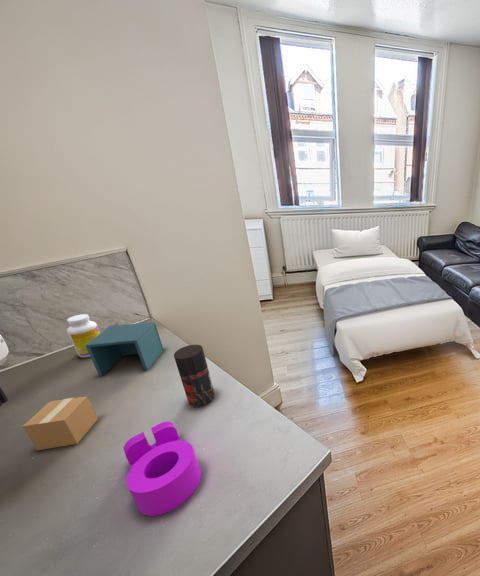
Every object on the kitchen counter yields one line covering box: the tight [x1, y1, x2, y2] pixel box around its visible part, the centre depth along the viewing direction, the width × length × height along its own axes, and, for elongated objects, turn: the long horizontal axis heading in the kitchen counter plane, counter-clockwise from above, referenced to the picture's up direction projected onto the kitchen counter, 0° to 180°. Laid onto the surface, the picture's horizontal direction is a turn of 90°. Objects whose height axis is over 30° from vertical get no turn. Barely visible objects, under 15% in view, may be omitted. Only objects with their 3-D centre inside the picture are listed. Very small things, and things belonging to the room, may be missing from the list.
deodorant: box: [173, 344, 216, 409], centre depth 72 cm, size 6×6×15 cm
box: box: [22, 396, 99, 451], centre depth 63 cm, size 7×7×7 cm
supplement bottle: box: [66, 313, 101, 359], centre depth 91 cm, size 7×7×13 cm
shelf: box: [86, 321, 164, 377], centre depth 87 cm, size 11×12×11 cm
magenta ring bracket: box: [123, 421, 202, 517], centre depth 55 cm, size 16×10×6 cm, turn 48°
